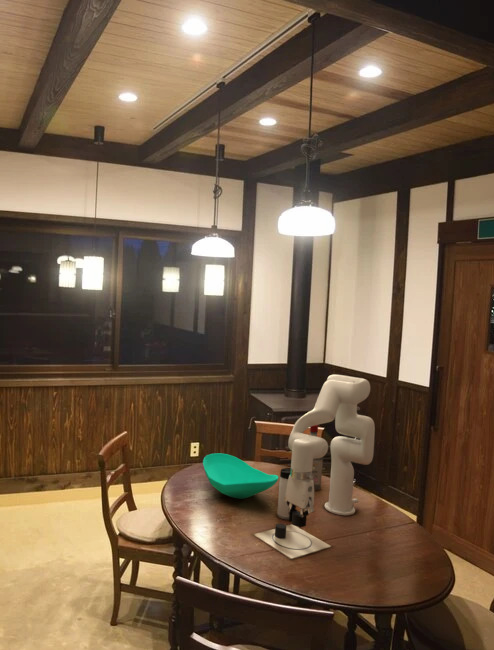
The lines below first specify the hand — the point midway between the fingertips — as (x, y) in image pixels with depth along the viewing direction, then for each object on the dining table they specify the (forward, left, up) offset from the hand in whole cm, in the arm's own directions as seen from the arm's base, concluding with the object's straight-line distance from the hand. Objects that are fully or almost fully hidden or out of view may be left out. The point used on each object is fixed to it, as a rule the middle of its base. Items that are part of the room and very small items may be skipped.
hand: (297, 523), depth 194 cm
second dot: (0, 0, 0) cm, 0 cm away
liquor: (-50, -41, -9) cm, 65 cm away
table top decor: (-11, -47, -9) cm, 49 cm away
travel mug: (-15, -21, -9) cm, 27 cm away
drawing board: (-2, -4, -9) cm, 10 cm away
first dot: (0, -8, -8) cm, 12 cm away
